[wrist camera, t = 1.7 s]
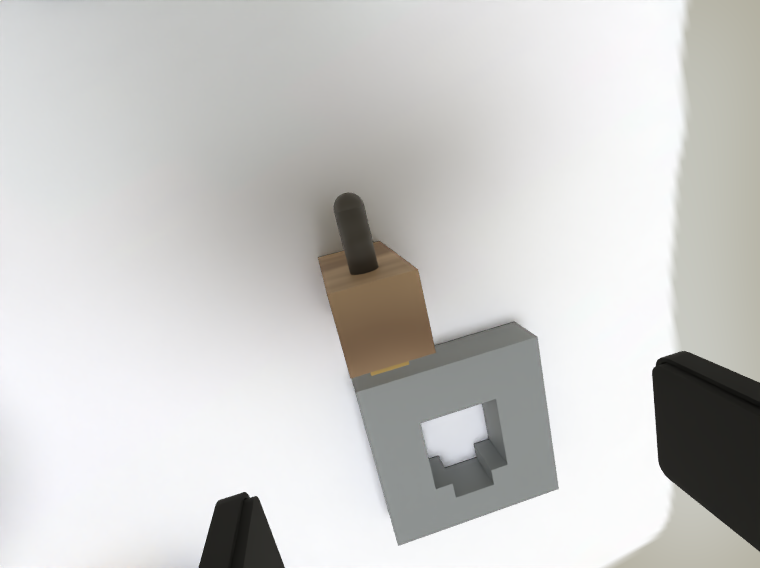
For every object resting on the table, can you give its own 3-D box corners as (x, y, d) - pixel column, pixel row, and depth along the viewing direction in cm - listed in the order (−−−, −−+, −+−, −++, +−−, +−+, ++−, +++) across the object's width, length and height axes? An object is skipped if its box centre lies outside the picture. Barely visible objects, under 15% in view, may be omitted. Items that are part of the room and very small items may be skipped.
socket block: (349, 371, 28) (355, 392, 26) (514, 321, 30) (537, 336, 27) (389, 512, 32) (398, 545, 29) (536, 462, 33) (558, 488, 30)
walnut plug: (301, 198, 25) (302, 207, 17) (365, 182, 26) (399, 182, 17) (339, 333, 28) (357, 402, 19) (397, 316, 28) (440, 376, 20)
